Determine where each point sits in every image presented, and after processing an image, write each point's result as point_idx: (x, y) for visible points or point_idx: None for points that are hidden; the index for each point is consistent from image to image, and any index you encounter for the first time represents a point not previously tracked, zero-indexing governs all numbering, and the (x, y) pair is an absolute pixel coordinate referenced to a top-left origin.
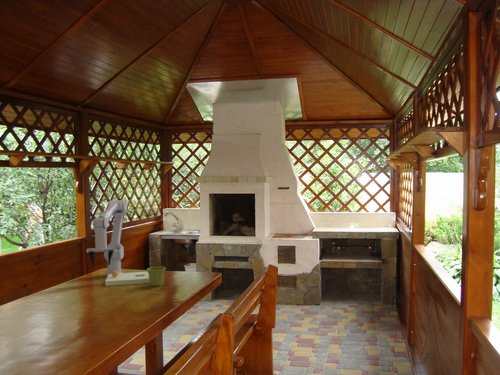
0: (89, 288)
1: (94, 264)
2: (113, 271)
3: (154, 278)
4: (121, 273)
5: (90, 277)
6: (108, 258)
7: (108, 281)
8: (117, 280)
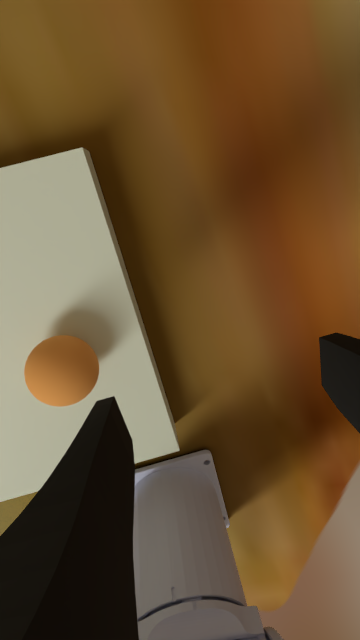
0: (223, 44)
1: (332, 356)
2: (68, 374)
3: None
4: None
5: (320, 438)
6: (83, 483)
7: (45, 157)
8: None
